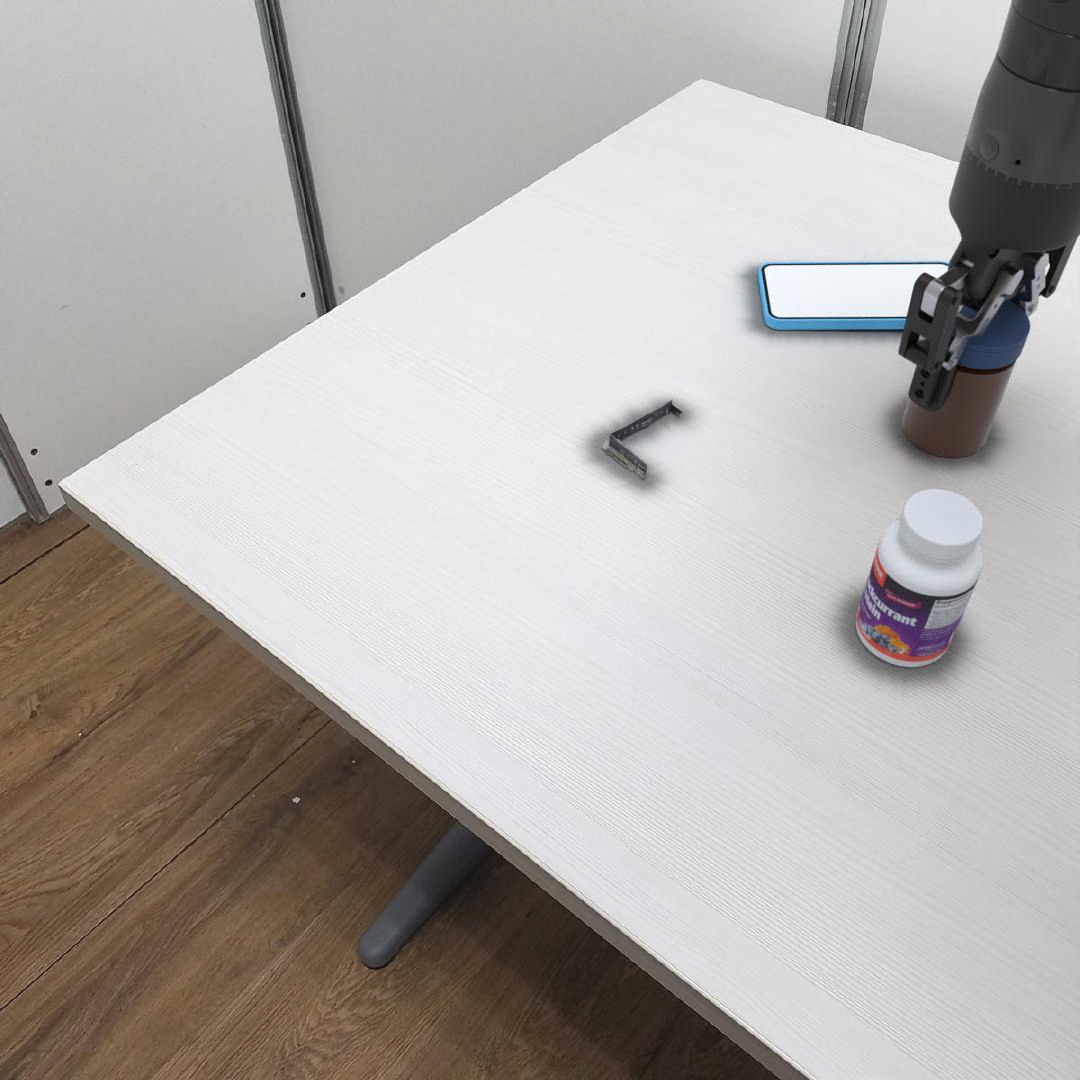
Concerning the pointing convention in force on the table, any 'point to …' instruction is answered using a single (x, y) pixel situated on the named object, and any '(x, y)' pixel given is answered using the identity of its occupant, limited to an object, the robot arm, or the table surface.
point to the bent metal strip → (630, 428)
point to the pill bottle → (921, 579)
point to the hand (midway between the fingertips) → (958, 379)
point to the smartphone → (840, 293)
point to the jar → (959, 413)
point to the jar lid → (996, 338)
